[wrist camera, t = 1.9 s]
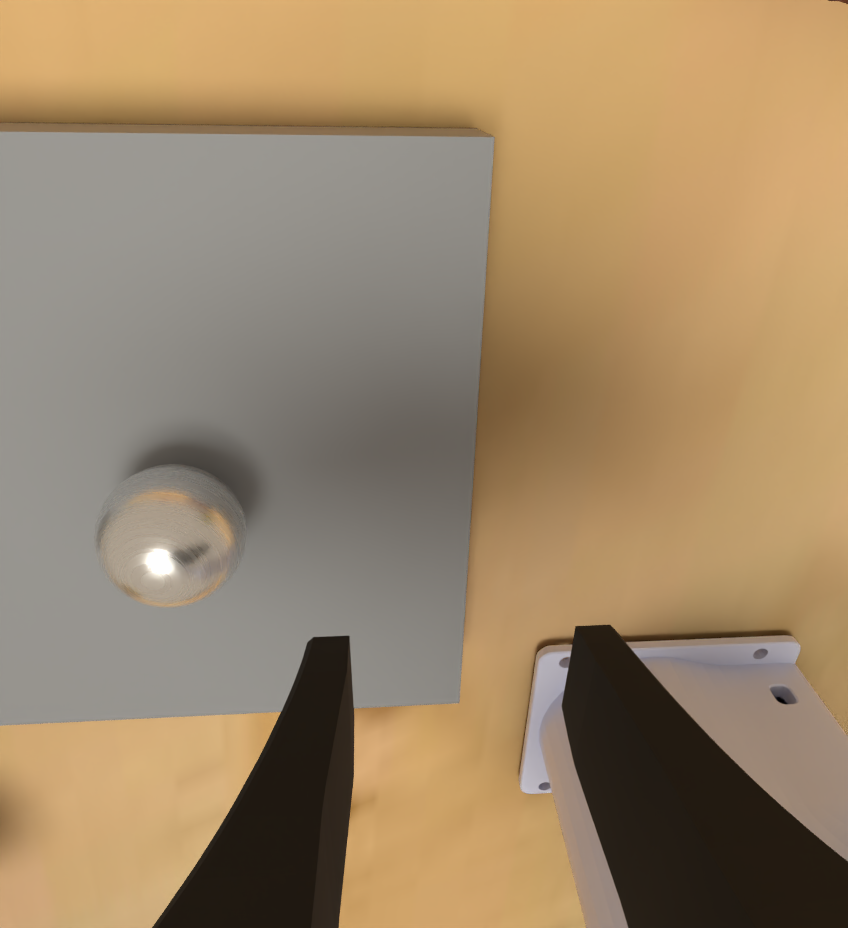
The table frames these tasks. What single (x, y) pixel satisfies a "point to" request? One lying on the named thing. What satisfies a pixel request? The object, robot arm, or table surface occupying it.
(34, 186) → the hole deck
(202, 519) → the steel ball
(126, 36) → the table surface
